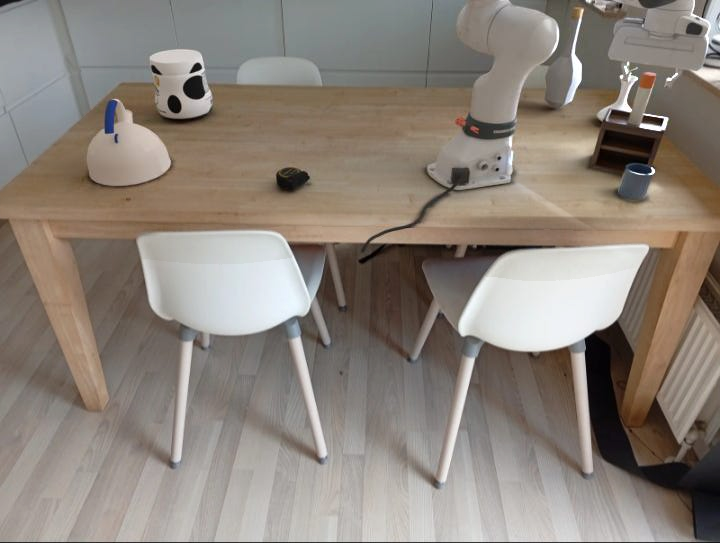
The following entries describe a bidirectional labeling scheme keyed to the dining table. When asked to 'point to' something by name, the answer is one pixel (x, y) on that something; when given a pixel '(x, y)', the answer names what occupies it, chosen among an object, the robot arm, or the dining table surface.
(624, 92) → the flower in vase
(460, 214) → the dining table surface
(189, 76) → the milk container
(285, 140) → the dining table surface
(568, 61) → the bottle
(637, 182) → the pen cup
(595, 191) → the dining table surface
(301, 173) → the tape measure
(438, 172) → the robot arm
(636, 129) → the small wooden shelf
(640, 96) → the marker
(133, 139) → the kettle
